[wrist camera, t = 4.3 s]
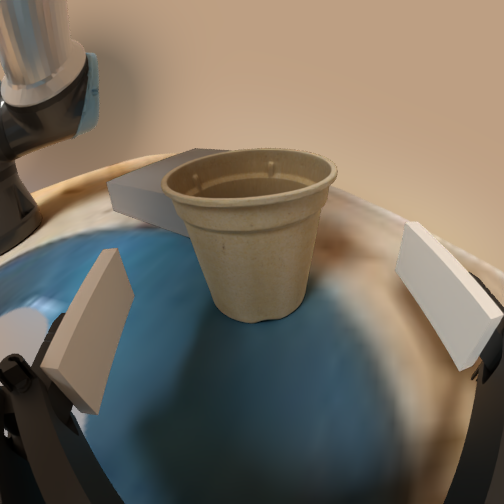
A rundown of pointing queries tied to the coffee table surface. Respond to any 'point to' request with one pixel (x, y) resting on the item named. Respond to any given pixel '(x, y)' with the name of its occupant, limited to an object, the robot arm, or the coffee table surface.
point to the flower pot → (253, 225)
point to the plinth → (152, 192)
